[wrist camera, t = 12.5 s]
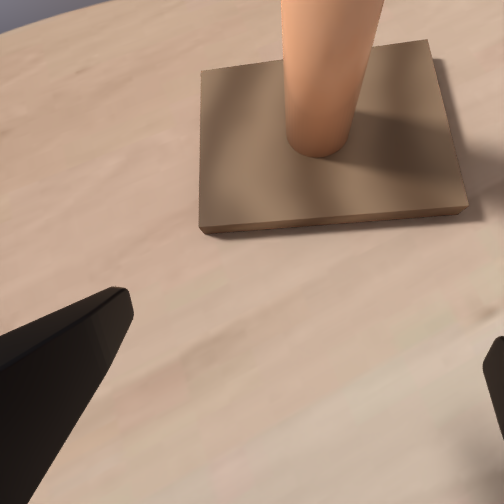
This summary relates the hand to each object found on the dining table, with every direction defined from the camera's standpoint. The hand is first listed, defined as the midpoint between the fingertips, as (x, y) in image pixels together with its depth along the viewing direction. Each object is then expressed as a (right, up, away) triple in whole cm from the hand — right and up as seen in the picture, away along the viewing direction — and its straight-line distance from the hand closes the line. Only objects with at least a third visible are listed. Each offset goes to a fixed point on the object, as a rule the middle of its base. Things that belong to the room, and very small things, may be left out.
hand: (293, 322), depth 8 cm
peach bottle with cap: (+4, +11, +15) cm, 19 cm away
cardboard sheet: (+4, +10, +17) cm, 20 cm away
